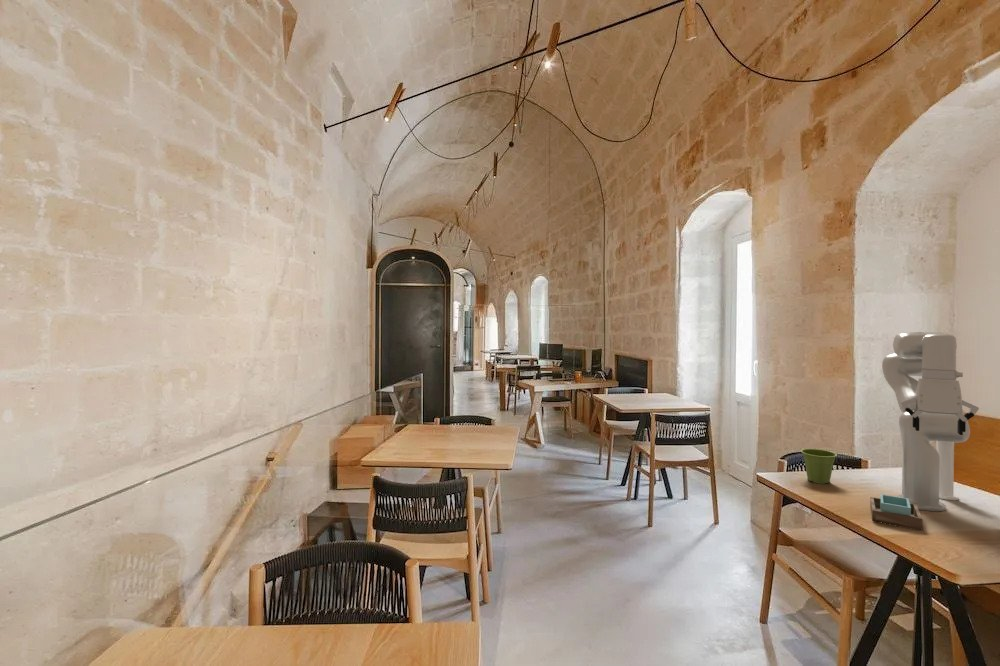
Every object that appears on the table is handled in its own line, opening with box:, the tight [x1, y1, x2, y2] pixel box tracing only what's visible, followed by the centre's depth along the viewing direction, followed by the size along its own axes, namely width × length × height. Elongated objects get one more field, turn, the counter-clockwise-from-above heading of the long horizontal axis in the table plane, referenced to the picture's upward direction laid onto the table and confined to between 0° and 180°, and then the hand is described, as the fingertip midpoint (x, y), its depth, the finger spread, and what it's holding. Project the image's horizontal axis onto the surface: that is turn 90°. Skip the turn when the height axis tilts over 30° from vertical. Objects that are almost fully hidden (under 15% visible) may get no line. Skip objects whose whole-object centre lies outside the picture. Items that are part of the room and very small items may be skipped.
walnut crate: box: [869, 496, 923, 531], centre depth 151 cm, size 15×12×4 cm
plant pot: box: [800, 448, 838, 485], centre depth 188 cm, size 12×12×11 cm
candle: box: [936, 441, 959, 501], centre depth 170 cm, size 7×7×25 cm
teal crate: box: [879, 493, 911, 516], centre depth 150 cm, size 10×7×5 cm
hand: (938, 432), depth 145 cm, fingers open, 9 cm apart
